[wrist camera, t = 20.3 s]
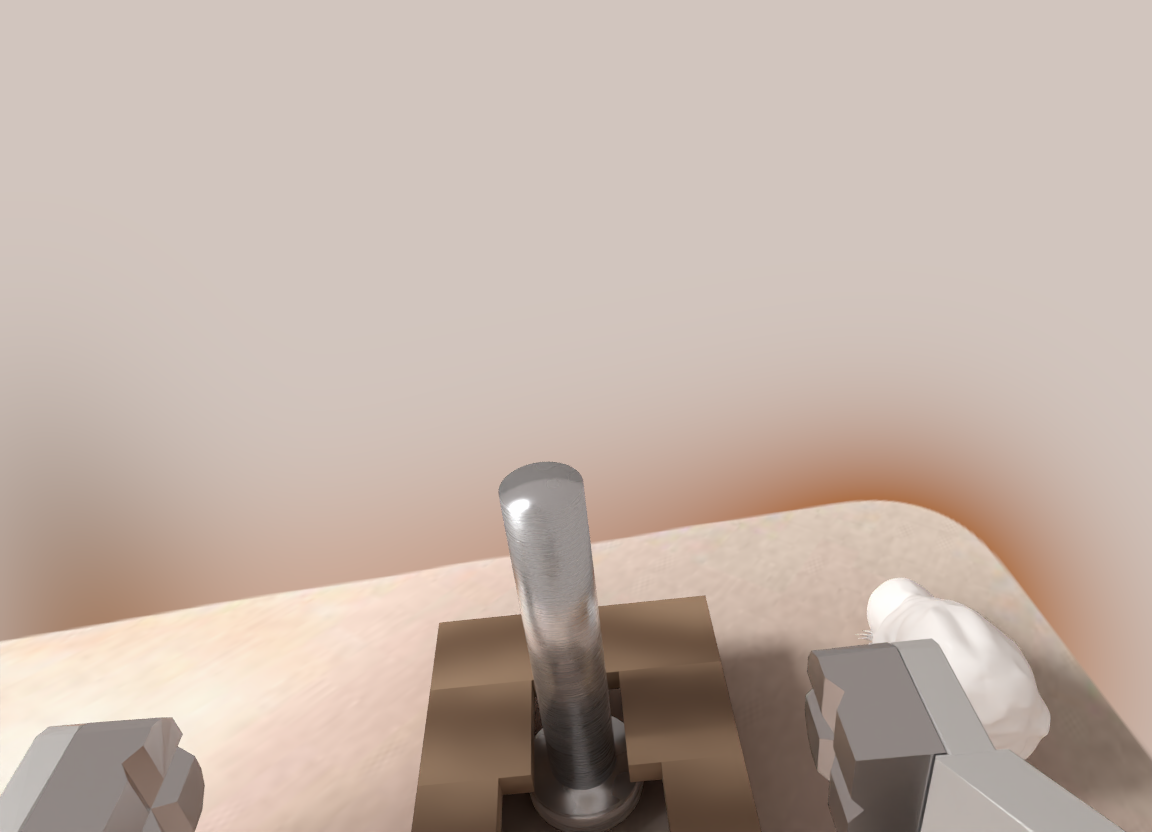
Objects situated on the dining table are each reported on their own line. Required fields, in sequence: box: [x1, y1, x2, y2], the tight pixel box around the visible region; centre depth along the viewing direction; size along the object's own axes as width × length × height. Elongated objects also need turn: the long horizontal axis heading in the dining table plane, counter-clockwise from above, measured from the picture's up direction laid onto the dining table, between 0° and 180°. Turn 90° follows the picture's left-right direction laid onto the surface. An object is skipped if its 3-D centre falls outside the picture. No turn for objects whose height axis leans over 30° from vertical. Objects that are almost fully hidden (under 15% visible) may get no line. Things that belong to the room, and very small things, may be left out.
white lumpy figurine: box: [856, 578, 1051, 760], centre depth 41 cm, size 6×8×12 cm
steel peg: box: [499, 462, 643, 832], centre depth 36 cm, size 6×6×18 cm
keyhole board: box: [411, 596, 761, 832], centre depth 37 cm, size 19×14×5 cm
